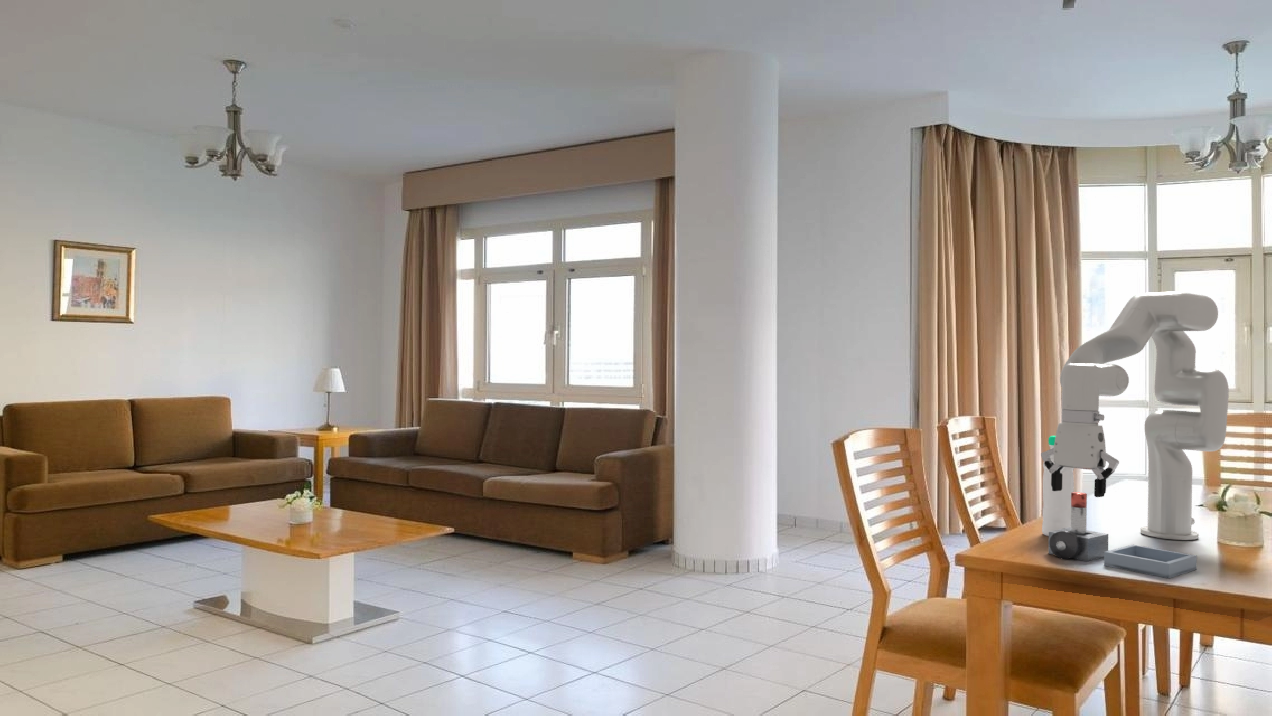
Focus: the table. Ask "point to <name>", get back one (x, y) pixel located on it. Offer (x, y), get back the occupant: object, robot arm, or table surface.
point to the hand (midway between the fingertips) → (1077, 493)
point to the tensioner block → (1077, 544)
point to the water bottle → (1057, 498)
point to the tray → (1150, 561)
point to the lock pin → (1078, 513)
